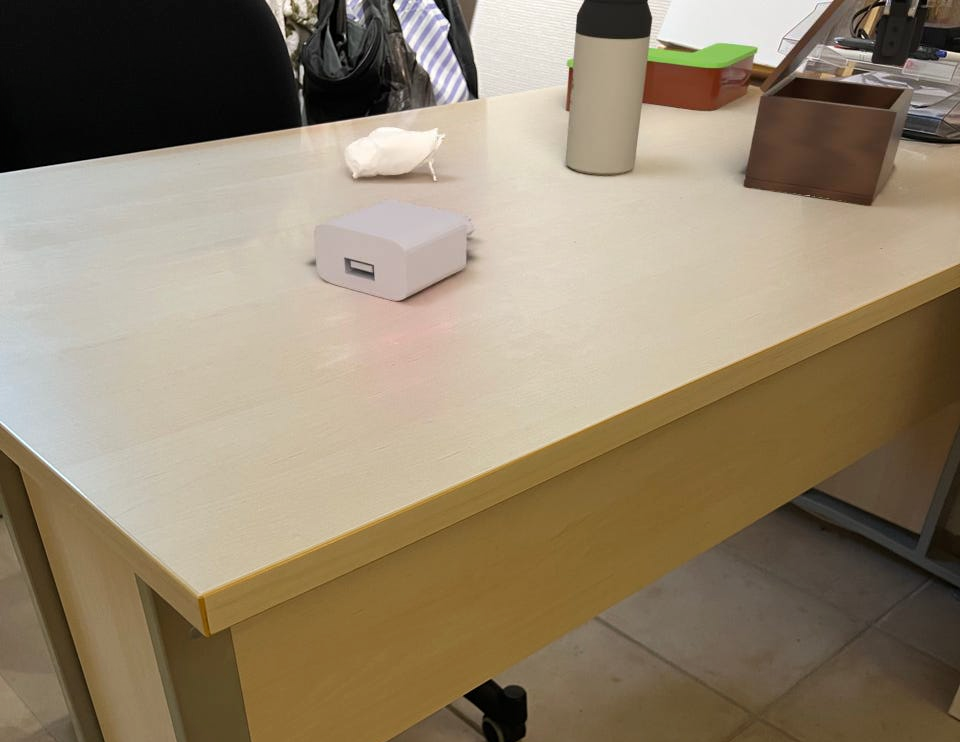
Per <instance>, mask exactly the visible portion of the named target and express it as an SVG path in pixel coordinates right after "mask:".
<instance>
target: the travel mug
mask: <svg viewBox="0 0 960 742" xmlns="http://www.w3.org/2000/svg"><path fill="white" fill-rule="evenodd" d="M648 1H649V0H583V2H582V4H581V6H580V8H579V9H578V12H577V14H576V23H575V35H574V47H573V48H574V49H573V58H574V59H573V58H572V59H573V72H572V85H571V98H570V111H568V125H567V138H566V150H565V164H566V165H567V166H568V167H569V168H570V169H572V170H574V171H576V172H579V173H582V174H587V175H596V176H616V175H622V174H625V173H628V172H630V171H631V170H633V169H634V168H635V164H636V156H637V148H638V140H639V131H640V123H641V115H642V108H643V107H642V106H643V102H642V100H643V91H644V83H645V75H646V67H647V58H648V50H649V48H650V42H651V41H650V40H651V32H652V24H653V15H652V12H651V9H650V5H649V2H648Z"/></svg>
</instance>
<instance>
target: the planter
mask: <svg viewBox="0 0 960 742" xmlns="http://www.w3.org/2000/svg"><path fill="white" fill-rule="evenodd" d="M757 53H758V47H757V46H753V45H752V46H751V45H743V44H734V43H727V42H717V43H714V44H711V45H708V46H706V47H704V48H701V49H699V50H696V51H694V52H689V51H688V52H687V51H678V50H670V49H662V48H655V47H649V50H648V58H647V67H646V75H645V83H644V91H643V100H642V104H644V103H645V104H650V105H658V106H665V107H673V108H677V109H678V108H679V109H687V110H692V111H705V112H706V111H707V112H708V111H715V110H716V111H717V110H719V109H721V108H722V107H724V106H726V105H728V104H730V103H732V102H734V101H735V100H737V99H738V98H740V97H742V96H745V95H746V94H748V92H749V87H750V81H751V75H752V71H753V65H754V60H755V54H757ZM573 59H574V57H573V58H570V59H568V60H566V67H568V75H567V87H566V101H565V110H566V111H567V112H569V111H570V98H571V85H572V72H573Z"/></svg>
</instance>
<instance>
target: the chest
mask: <svg viewBox="0 0 960 742" xmlns="http://www.w3.org/2000/svg"><path fill="white" fill-rule="evenodd" d="M914 92H915V88H908V87H899V86H891V85H890V86H889V85H883V84H881V85H880V84H872V83H864V82H863V83H862V82H854V81H845V80H837V79H829V78H828V79H826V78H820V77H811V76H802V75H801V76H800V75H792V74H790V75H789V76H788V77H786V78H785V79H783V80H782V81H781V82H779V83H778V84H776V85H775V86H774V87H772V88H771V89H770V90H768V91H767V92H765V93H764V92H763V94H761V95H760V97H759V102H758V107H757V113H756V119H755V124H754V129H753V134H752V139H751V143H750V144H751V145H750V149H749V154H748V158H747V159H748V160H747V165H746V169H745V174H744V180H743V187H744V186H745V188H750V187H751V189H757V188H759V189H758V190H763V189H765V190H764V191H770V190H774V191H773V192H776V191H781V192H780V193H783V192H787V193H786V194H789V193H796V194H801V195H800V196H802V195H810V196H815V197H822V198H829V199H834V200H833V201H835V200H841V201H846V202H845V203H848V202H852V203H851V204H854V203H858V204H857V205H861V204H864V205H863V206H867V205H869V207H870V206H872V205H873V204H874V201H875V200H876V198H878V195H879V194H880V192H881V190H882V189H883V188H884V186H885V185H886V183H887V181H888V179H889V178H890V176H891V173H892V169H893V166H894V162H895V159H896V156H897V153H898V148H899V145H900V141H901V138H902V135H903V132H904V127H905V124H906V120H907V117H908V114H909V110H910V106H911V103H912V100H913V96H914ZM796 194H795V195H796ZM815 197H814V198H815ZM822 198H821V199H822ZM841 201H840V202H841Z"/></svg>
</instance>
